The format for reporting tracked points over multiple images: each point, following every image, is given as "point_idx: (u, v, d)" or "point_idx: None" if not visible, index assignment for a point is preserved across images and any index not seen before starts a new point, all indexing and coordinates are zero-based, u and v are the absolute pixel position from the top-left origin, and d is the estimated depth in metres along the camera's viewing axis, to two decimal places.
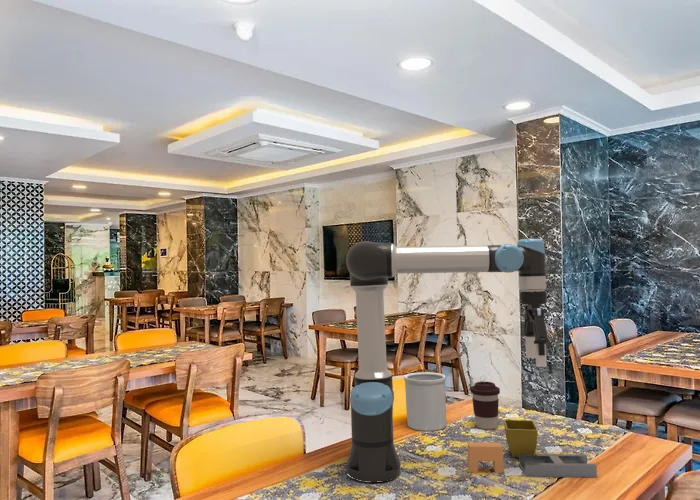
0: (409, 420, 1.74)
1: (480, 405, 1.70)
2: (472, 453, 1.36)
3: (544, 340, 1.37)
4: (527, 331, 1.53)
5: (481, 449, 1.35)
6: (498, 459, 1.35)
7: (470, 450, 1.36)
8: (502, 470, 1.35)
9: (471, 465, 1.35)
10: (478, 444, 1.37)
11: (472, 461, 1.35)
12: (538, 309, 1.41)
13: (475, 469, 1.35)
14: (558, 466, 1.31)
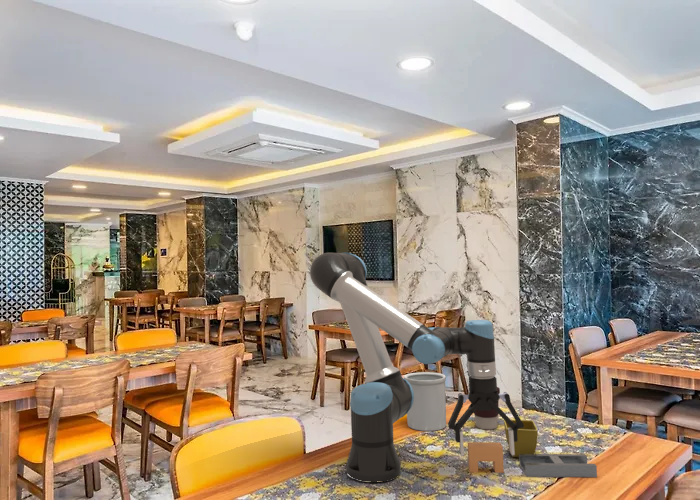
0: (409, 420, 1.74)
1: None
2: (472, 453, 1.36)
3: None
4: None
5: (481, 449, 1.35)
6: (498, 459, 1.35)
7: (470, 450, 1.36)
8: (502, 470, 1.35)
9: (471, 465, 1.35)
10: (478, 444, 1.37)
11: (472, 461, 1.35)
12: (459, 395, 1.38)
13: (475, 469, 1.35)
14: (558, 466, 1.31)
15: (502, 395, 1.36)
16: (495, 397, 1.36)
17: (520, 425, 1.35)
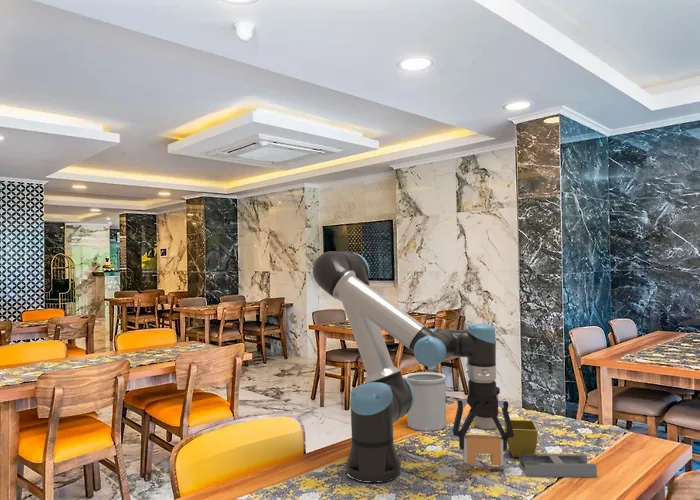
0: (409, 420, 1.74)
1: None
2: (470, 445, 1.36)
3: (453, 432, 1.38)
4: None
5: (479, 442, 1.36)
6: (495, 452, 1.35)
7: (468, 442, 1.36)
8: (499, 463, 1.35)
9: (468, 457, 1.36)
10: (476, 436, 1.37)
11: (469, 453, 1.36)
12: (457, 400, 1.38)
13: (472, 461, 1.36)
14: (558, 466, 1.31)
15: (501, 401, 1.37)
16: (494, 401, 1.36)
17: (510, 434, 1.35)
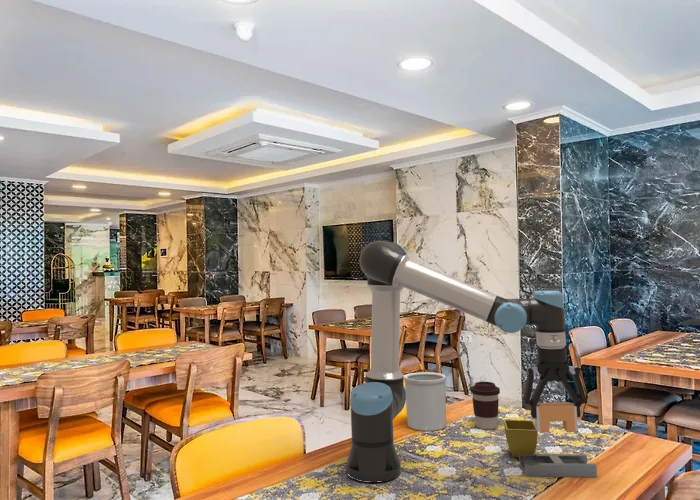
0: (409, 420, 1.74)
1: (480, 405, 1.70)
2: (543, 412, 1.34)
3: (524, 401, 1.36)
4: None
5: (552, 409, 1.34)
6: (569, 418, 1.33)
7: (541, 410, 1.34)
8: (574, 429, 1.33)
9: (542, 425, 1.34)
10: (548, 404, 1.35)
11: (542, 421, 1.34)
12: (527, 368, 1.37)
13: (546, 428, 1.34)
14: (558, 466, 1.31)
15: (572, 367, 1.35)
16: (565, 368, 1.34)
17: (583, 400, 1.34)
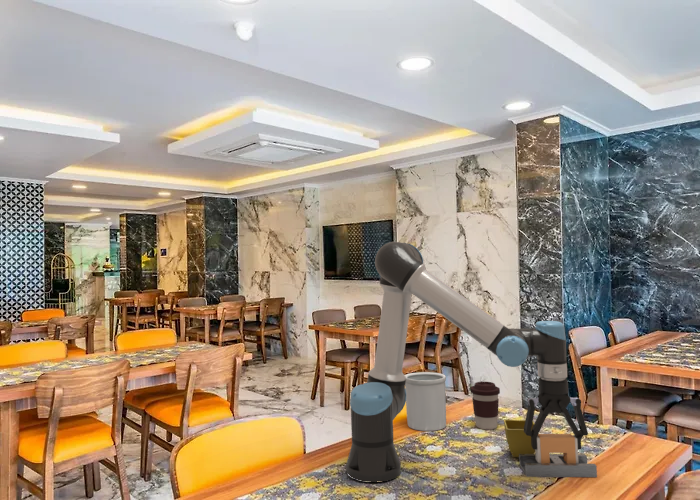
0: (409, 420, 1.74)
1: (480, 405, 1.70)
2: (543, 444, 1.34)
3: (525, 432, 1.36)
4: None
5: (553, 441, 1.34)
6: (570, 450, 1.33)
7: (541, 441, 1.34)
8: (574, 461, 1.33)
9: (542, 457, 1.34)
10: (549, 435, 1.35)
11: (543, 453, 1.34)
12: (528, 399, 1.36)
13: (546, 460, 1.34)
14: (558, 466, 1.31)
15: (573, 399, 1.35)
16: (566, 399, 1.34)
17: (584, 432, 1.33)
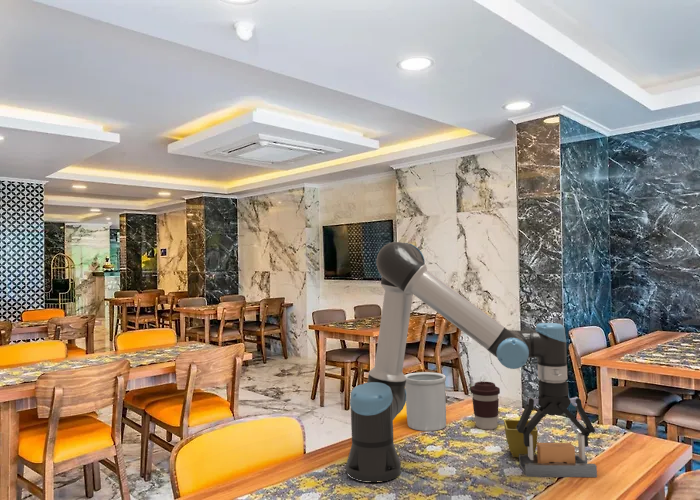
0: (409, 420, 1.74)
1: (480, 405, 1.70)
2: (543, 453, 1.34)
3: (517, 429, 1.36)
4: (576, 426, 1.36)
5: (553, 450, 1.34)
6: (570, 459, 1.33)
7: (541, 450, 1.34)
8: None
9: None
10: (548, 444, 1.35)
11: (543, 462, 1.34)
12: (528, 398, 1.36)
13: None
14: (558, 466, 1.31)
15: (573, 399, 1.35)
16: (566, 401, 1.34)
17: (591, 430, 1.33)
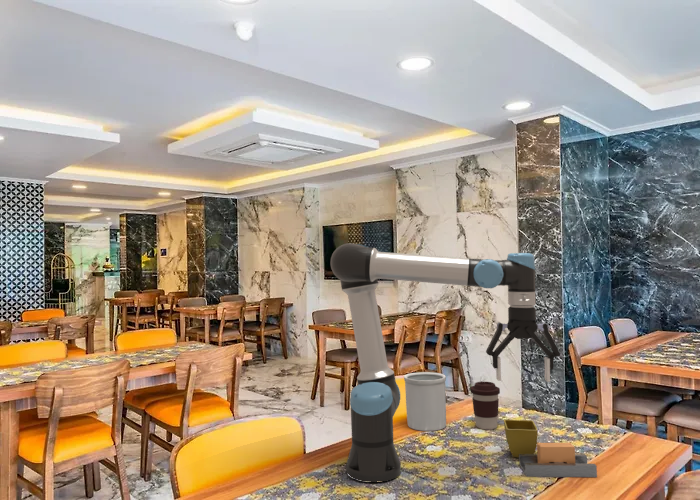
0: (409, 420, 1.74)
1: (480, 405, 1.70)
2: (543, 453, 1.34)
3: (486, 352, 1.43)
4: (543, 351, 1.43)
5: (553, 450, 1.34)
6: (570, 459, 1.33)
7: (541, 450, 1.34)
8: None
9: None
10: (548, 444, 1.35)
11: (543, 462, 1.34)
12: (498, 323, 1.44)
13: None
14: (558, 466, 1.31)
15: (540, 325, 1.42)
16: (533, 326, 1.41)
17: (557, 353, 1.40)
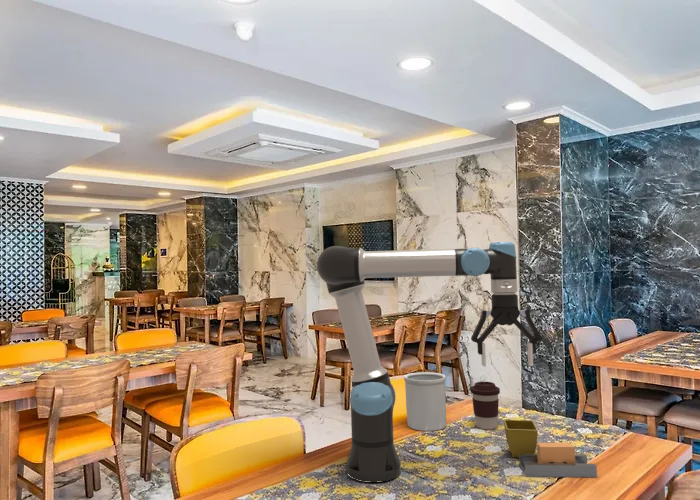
0: (409, 420, 1.74)
1: (480, 405, 1.70)
2: (543, 453, 1.34)
3: (471, 339, 1.48)
4: (526, 336, 1.47)
5: (553, 450, 1.34)
6: (570, 459, 1.33)
7: (541, 450, 1.34)
8: None
9: None
10: (548, 444, 1.35)
11: (543, 462, 1.34)
12: (482, 311, 1.48)
13: None
14: (558, 466, 1.31)
15: (522, 311, 1.46)
16: (516, 312, 1.46)
17: (539, 338, 1.45)
